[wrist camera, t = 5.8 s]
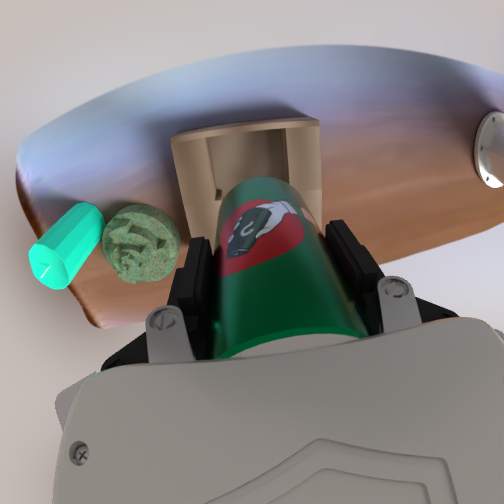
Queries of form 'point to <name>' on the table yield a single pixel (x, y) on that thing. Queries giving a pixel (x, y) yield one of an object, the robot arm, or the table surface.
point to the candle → (67, 245)
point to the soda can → (275, 277)
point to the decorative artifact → (141, 243)
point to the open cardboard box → (245, 164)
